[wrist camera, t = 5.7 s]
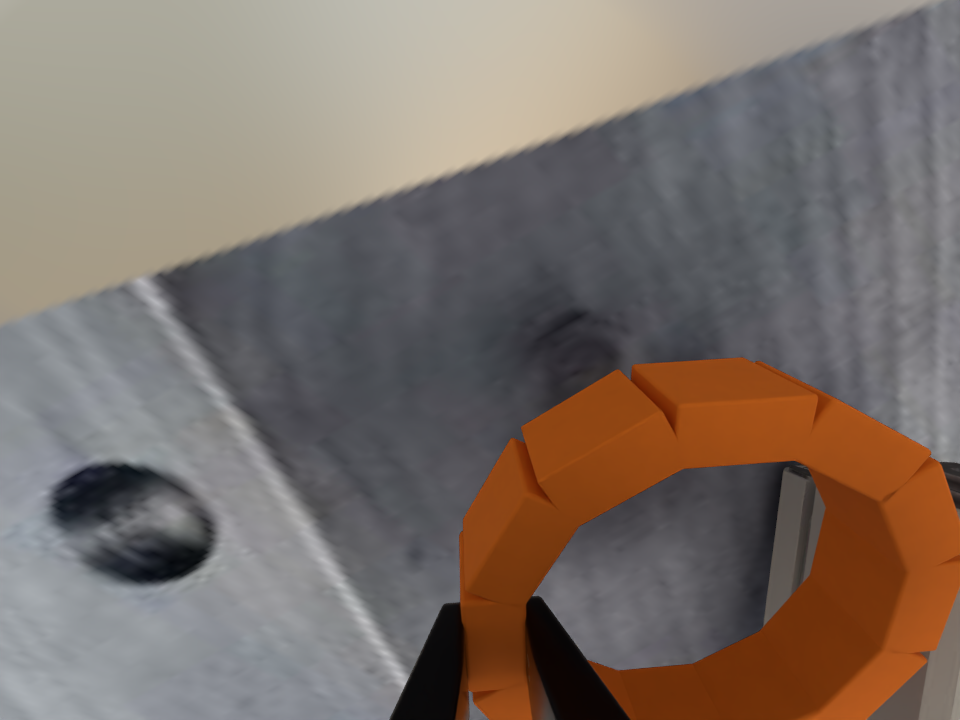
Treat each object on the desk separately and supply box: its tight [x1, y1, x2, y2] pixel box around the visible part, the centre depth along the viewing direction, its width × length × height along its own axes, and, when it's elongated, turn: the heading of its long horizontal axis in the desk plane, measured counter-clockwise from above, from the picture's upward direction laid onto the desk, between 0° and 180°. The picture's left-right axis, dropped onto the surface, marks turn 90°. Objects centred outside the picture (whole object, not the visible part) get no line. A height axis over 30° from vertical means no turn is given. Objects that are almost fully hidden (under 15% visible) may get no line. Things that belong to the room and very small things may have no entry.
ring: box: [459, 357, 960, 720], centre depth 10 cm, size 10×10×2 cm
